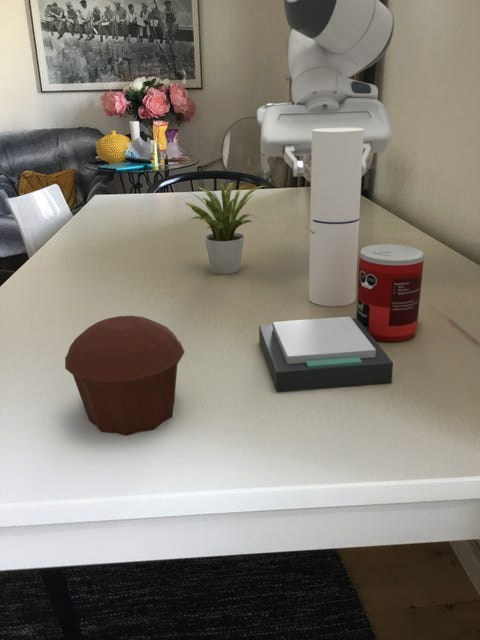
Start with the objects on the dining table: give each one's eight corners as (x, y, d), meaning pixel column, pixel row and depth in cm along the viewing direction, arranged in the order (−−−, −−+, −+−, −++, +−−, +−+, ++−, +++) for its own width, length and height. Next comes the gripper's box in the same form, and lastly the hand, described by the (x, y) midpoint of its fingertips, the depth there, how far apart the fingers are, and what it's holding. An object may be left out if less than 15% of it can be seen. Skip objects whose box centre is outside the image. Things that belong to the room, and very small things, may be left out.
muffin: (190, 383, 64) (185, 300, 60) (186, 439, 54) (179, 344, 50) (85, 387, 64) (73, 305, 60) (61, 445, 54) (44, 350, 50)
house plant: (251, 254, 113) (249, 170, 107) (282, 272, 101) (282, 179, 95) (182, 263, 108) (176, 176, 102) (206, 284, 96) (201, 187, 90)
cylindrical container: (331, 309, 84) (337, 132, 74) (299, 297, 89) (301, 130, 79) (364, 299, 87) (374, 128, 78) (331, 287, 93) (337, 127, 83)
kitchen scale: (356, 335, 75) (357, 311, 74) (391, 382, 63) (393, 354, 62) (259, 343, 74) (258, 318, 72) (276, 392, 62) (276, 363, 60)
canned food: (360, 317, 81) (365, 242, 76) (419, 323, 78) (426, 246, 74) (350, 338, 74) (354, 257, 70) (413, 346, 71) (421, 262, 67)
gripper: (256, 89, 88) (262, 162, 82) (387, 85, 88) (401, 157, 83) (255, 118, 94) (260, 188, 88) (377, 114, 94) (390, 183, 89)
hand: (329, 173), depth 86 cm, fingers open, 8 cm apart
